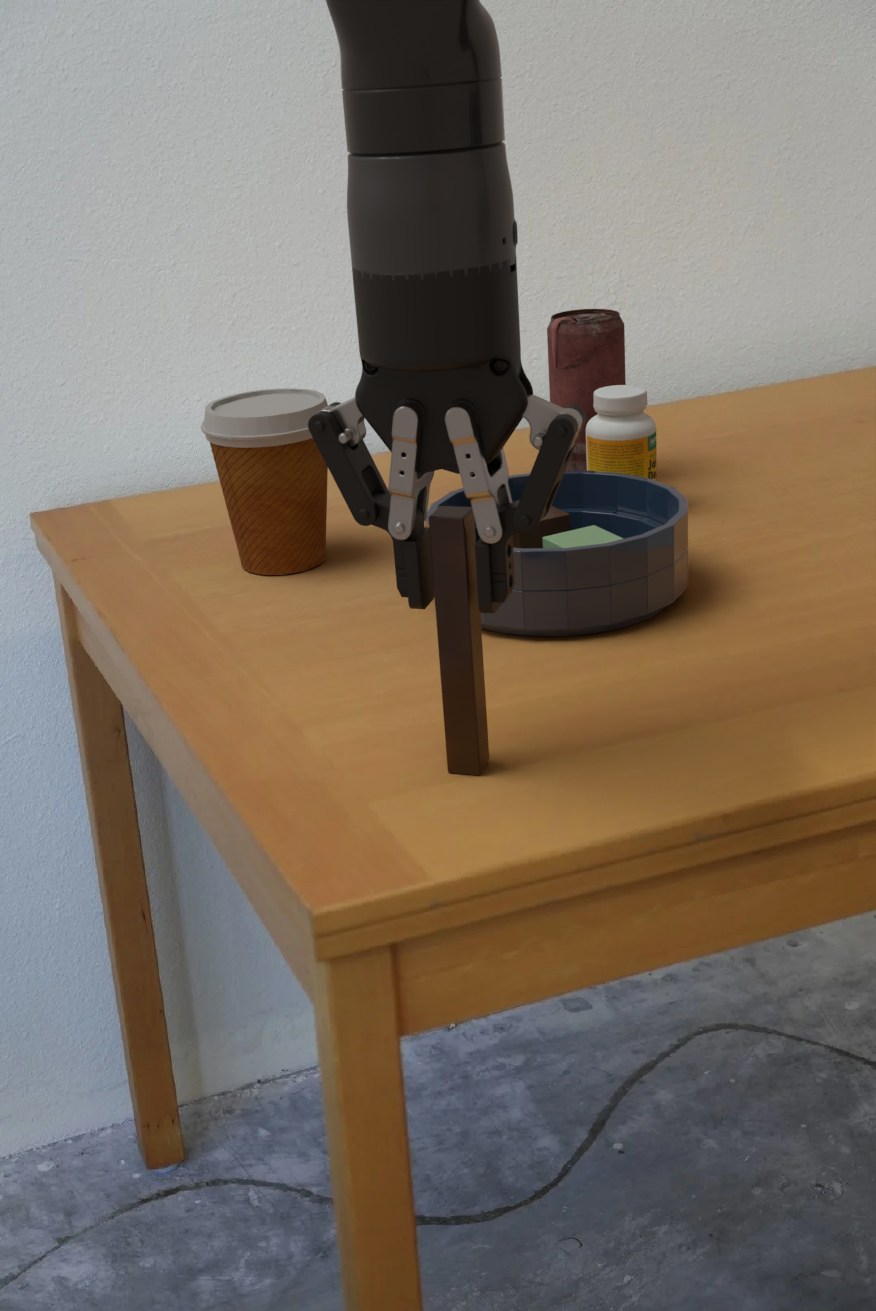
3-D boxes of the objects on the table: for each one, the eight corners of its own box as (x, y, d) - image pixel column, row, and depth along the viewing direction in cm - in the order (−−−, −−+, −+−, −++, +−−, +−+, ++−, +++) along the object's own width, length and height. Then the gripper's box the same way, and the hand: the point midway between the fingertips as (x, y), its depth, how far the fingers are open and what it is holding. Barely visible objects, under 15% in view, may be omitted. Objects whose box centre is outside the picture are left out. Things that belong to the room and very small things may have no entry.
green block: (629, 598, 96) (627, 540, 94) (576, 612, 94) (574, 553, 93) (595, 581, 99) (594, 524, 98) (544, 594, 98) (541, 536, 96)
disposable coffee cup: (326, 532, 115) (311, 380, 111) (363, 568, 107) (348, 405, 102) (207, 554, 113) (186, 399, 108) (235, 592, 104) (214, 426, 100)
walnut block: (572, 569, 102) (570, 513, 100) (521, 581, 100) (519, 525, 98) (542, 553, 105) (540, 499, 103) (493, 565, 103) (490, 511, 102)
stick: (490, 760, 78) (474, 506, 72) (480, 776, 76) (463, 517, 71) (457, 757, 78) (439, 505, 73) (447, 773, 77) (427, 516, 71)
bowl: (741, 601, 96) (742, 513, 94) (510, 664, 89) (505, 570, 87) (598, 534, 110) (596, 456, 108) (390, 584, 104) (383, 502, 101)
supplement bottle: (585, 503, 118) (581, 384, 114) (653, 499, 117) (651, 379, 114) (590, 525, 113) (587, 401, 109) (661, 520, 112) (659, 396, 109)
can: (536, 487, 123) (528, 317, 117) (588, 469, 126) (583, 303, 121) (590, 499, 118) (584, 324, 113) (642, 480, 122) (639, 310, 117)
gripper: (258, 269, 66) (299, 626, 73) (564, 262, 62) (577, 643, 68) (321, 243, 73) (353, 573, 79) (602, 236, 68) (611, 586, 75)
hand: (457, 604), depth 74 cm, fingers open, 3 cm apart
